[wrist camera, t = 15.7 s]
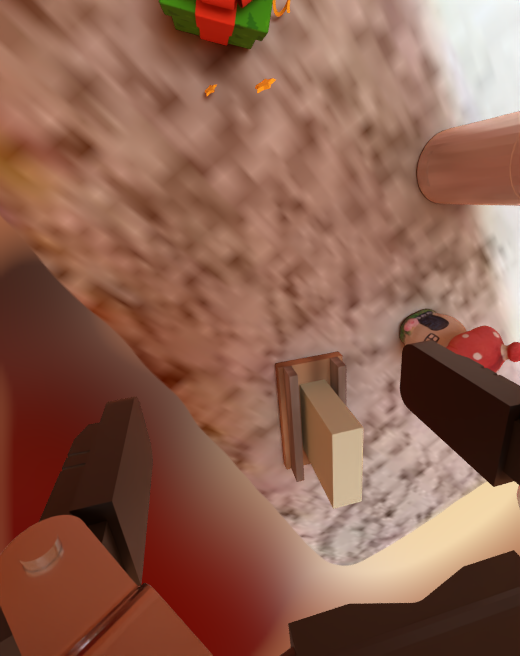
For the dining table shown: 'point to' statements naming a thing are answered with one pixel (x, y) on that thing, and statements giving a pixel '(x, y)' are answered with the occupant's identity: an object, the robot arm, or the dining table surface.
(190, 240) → the dining table surface
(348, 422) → the door panel
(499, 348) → the decorative ornament
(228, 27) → the gift box
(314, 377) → the door track
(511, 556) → the robot arm
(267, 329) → the dining table surface
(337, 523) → the dining table surface
